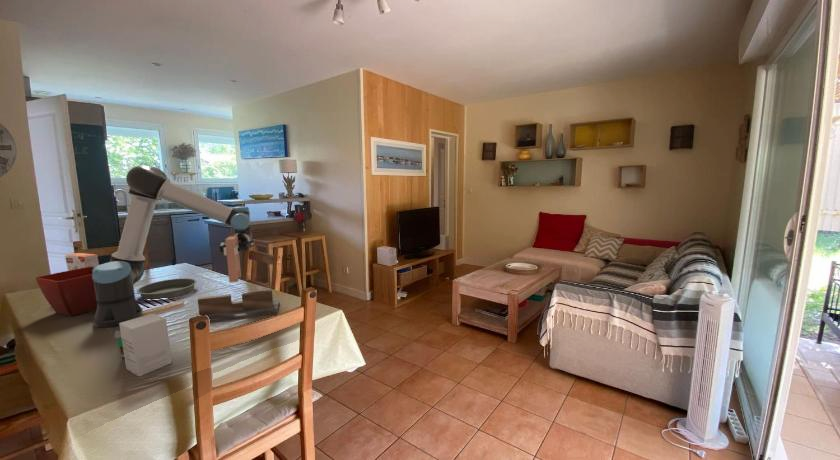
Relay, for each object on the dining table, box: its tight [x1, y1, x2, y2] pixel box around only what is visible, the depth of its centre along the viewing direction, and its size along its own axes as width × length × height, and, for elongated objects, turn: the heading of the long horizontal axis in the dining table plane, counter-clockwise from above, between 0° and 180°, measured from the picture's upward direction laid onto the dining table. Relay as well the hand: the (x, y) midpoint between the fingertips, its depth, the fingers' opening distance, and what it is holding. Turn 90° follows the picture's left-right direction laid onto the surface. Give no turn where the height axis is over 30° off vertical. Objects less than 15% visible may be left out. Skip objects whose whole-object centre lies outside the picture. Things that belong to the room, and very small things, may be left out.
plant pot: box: [35, 267, 97, 317], centre depth 152 cm, size 19×19×17 cm
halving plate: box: [224, 235, 242, 283], centre depth 145 cm, size 9×3×18 cm, turn 19°
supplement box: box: [118, 312, 173, 377], centre depth 105 cm, size 9×9×15 cm
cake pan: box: [136, 277, 198, 301], centre depth 174 cm, size 25×25×4 cm
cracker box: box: [64, 252, 100, 271], centre depth 172 cm, size 14×6×21 cm, turn 73°
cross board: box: [193, 289, 280, 323], centre depth 147 cm, size 14×32×8 cm, turn 108°
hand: (230, 251), depth 139 cm, fingers closed on halving plate, 3 cm apart
